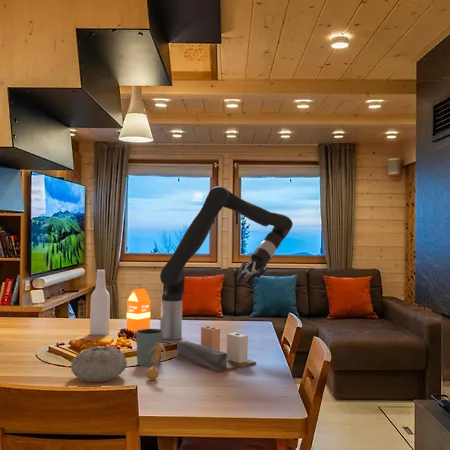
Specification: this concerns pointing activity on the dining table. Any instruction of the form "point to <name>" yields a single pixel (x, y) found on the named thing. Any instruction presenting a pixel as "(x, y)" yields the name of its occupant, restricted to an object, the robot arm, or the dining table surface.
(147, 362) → the blue-grey cup
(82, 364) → the grey rounded rock
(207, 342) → the two dot button
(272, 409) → the dining table surface
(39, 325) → the dining table surface
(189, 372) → the dining table surface
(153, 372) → the figurine
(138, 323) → the orange juice
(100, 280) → the alcohol
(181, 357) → the console
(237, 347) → the one dot button
